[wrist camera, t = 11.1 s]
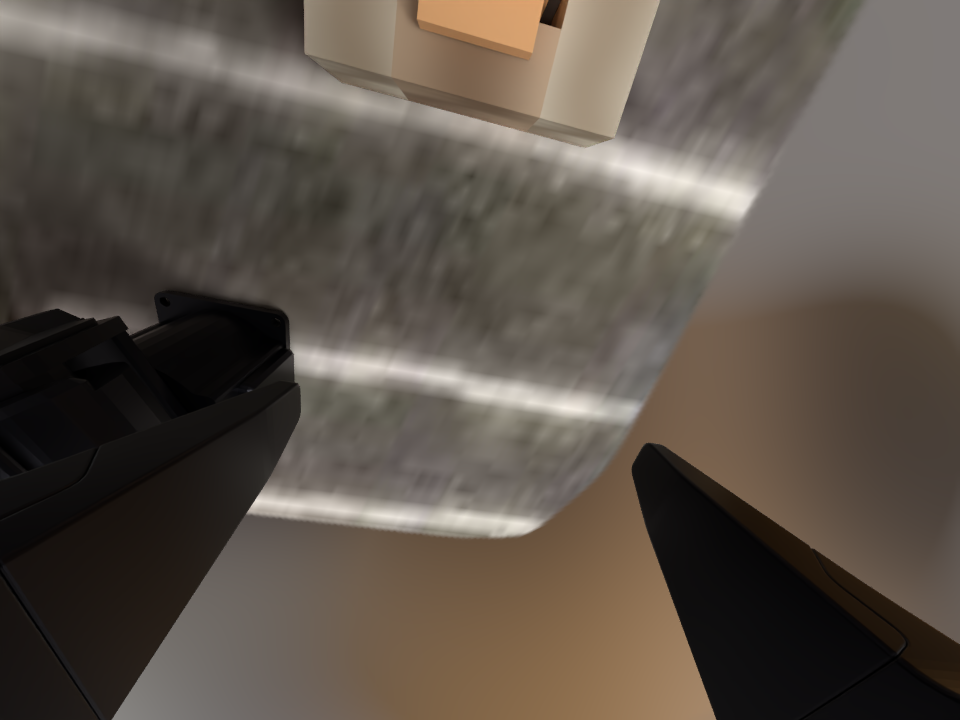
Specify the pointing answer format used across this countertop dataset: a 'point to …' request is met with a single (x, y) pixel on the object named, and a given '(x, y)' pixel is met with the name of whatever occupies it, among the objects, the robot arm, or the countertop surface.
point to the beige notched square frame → (491, 64)
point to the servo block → (485, 22)
